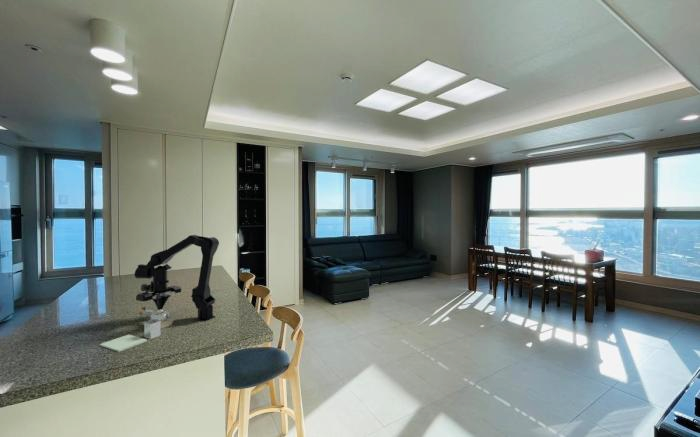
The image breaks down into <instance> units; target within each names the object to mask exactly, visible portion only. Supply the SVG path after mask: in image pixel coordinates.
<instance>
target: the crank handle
mask: <svg viewBox="0 0 700 437" xmlns="http://www.w3.org/2000/svg"><path fill="white" fill-rule="evenodd" d="M138 310H139V313H138V314H139V315H143V316H148V317H150V320H154V319H155V320H159V321H161V322H164V321H166V320H168V319H169V317H170V311H169V310H164V308H162V309H156V311H155V310H151V309H146V306H140V307H139V308H138Z"/></svg>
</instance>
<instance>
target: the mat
mask: <svg viewBox="0 0 700 437" xmlns="http://www.w3.org/2000/svg"><path fill="white" fill-rule="evenodd" d="M146 342H148V338H143V337H139V336H135V335H133V334H129V333H128V334H126V335H123V336H120V337H117V338H115V339H110V340H108V341H105V342H102V343H100V344H99V346H100V347H103V348H105V349H109V350H111V351H114V352H117V353H118V352H120V353H121V352H122V351H125V350H128V349H131V348H132V347H136V346H139V345H141V344H142V343H146Z"/></svg>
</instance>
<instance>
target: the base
mask: <svg viewBox="0 0 700 437" xmlns="http://www.w3.org/2000/svg"><path fill="white" fill-rule="evenodd" d="M148 321H151V319H149V320H148ZM173 322H174V318H173V317H171V316H169V319H168V320H166V321H164V322H161V329H164V328H168V327H170V326H172V325H174V324H173Z"/></svg>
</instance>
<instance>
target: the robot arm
mask: <svg viewBox="0 0 700 437" xmlns="http://www.w3.org/2000/svg"><path fill="white" fill-rule="evenodd" d="M192 245H194V246H197V247H200V252H201V254H202V260H201V264H200V271H199V278H198V284H197V285H196V286H195V287H193V288H192V289H191V290H192V291H191V296H190V297H191V300H192V302H193V303H194V306H195V308H196V309H197V317H196V318H195V320H196V321H201V322H207V321H208V320H213V319H214V318H216V315H214V304H215V301H216V298H215V297H214V296H213V295H212V294H211V288H210V284H209V283H210V278H211V273H212V267H213V260H214V256H215V254H216V252H217V251H218V248H219V246H220V241H219V239H218V238H216V237H215V236H211V237H207V236H200V235H197V234H191V235H188V236H187V237H186V238H184V239H183V240H181V241H179V242H177V243H176V244H174V245H172V246H171V247H169V248H168V249H164V250H162V251H161V250H160V251H159V252H156V253H153V254H152V255H151V256H150V260H149V261H148V262H147V263H146V264H142V263H141V264H138V265H137V267H136V269H135V272H134V277H135V279H139V280H141V279H145V280H146V279H147V280H148V279H149V280H150V279H152V280H151V281H150V284H147V283H144V284H141V286H140V290H141V293H137V294H136V296H135V300H136V301H139V302H148V301H153V302H154V303H155V307H156V308H157V309H156V310H158V309H164V307H165V304H166V302H167V301H168V300H169V298H170V297H171V294H169V293H174V294H178V293H181V292H182V287H181V286H179V285H171V286H168V285H167V284H168V283H169V282H170V281H169V280H168V270H171V269H172V266H170V265H169V264H168V263H169V262H170V261H171V260H172V259H173V258H174V257H175V256H176V255H177V254H179V253H181V252H182V251H184V250H186V249H188V248H189V247H190V246H192ZM164 264H165V265H164Z"/></svg>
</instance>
